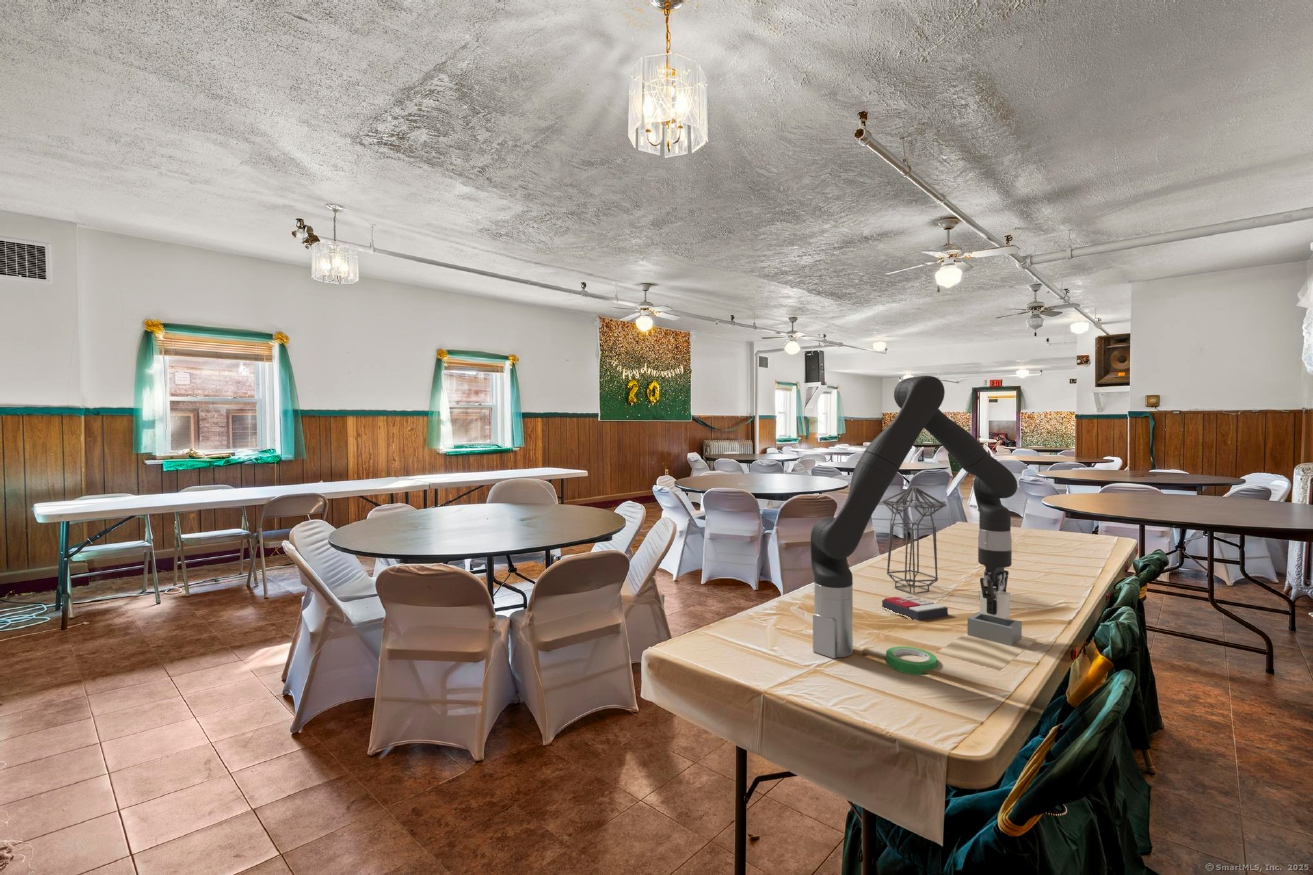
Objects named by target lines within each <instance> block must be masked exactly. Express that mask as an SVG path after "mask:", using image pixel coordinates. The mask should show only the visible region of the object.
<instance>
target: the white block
mask: <svg viewBox="0 0 1313 875" xmlns="http://www.w3.org/2000/svg"><path fill="white" fill-rule="evenodd" d="M978 594H979V612H980V613H982V614H986V615H991V616H995V617H1000V618H1004V619H1006V618H1009V617H1010V616H1011V614H1010V612H1011V608H1010V607H1011V604H1010V603H1011V600H1010V599H1011V595H1010V594H1011V593H1010V592H1007V591H1006V592H1003V591H999V592H998V594H997V614H996V615H992V614H988V613H987V599H986V598H983V595H982V589H980V590H979V593H978ZM989 594H990V592H989Z"/></svg>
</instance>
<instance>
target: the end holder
mask: <svg viewBox="0 0 1313 875" xmlns="http://www.w3.org/2000/svg"><path fill="white" fill-rule="evenodd" d="M1022 623H1023V622H1022V621H1021V620H1016V619H1012V618H1009V617H1007V618H1006V619H1004V618H1000V617H995V616H991V615H986V614H982V613H980V611H977V612H976V613H974V614H972V615H971V616H968V617H967V627H966V628H967V632H966V633H967V635H969V636H973V637H977V638H981V639H985V640H989V641H992V642H996V643H1000V644H1004V645H1008V646H1013V645H1014V644H1015V643H1017V642H1018V641H1019V640H1021V639H1022V636H1023V635H1022V634H1023V632H1022V629H1023V627H1022V626H1023V625H1022Z"/></svg>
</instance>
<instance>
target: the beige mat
mask: <svg viewBox="0 0 1313 875" xmlns="http://www.w3.org/2000/svg"><path fill="white" fill-rule="evenodd" d="M1036 641H1037V638H1034V637H1033V638H1032V637H1028V636H1024V635H1022V639H1021V640H1019V641H1018V642H1017V643H1015V644H1014V645H1013V646H1008V645H1004V644H1000V643H996V642H992V641H989V640H985V639H981V638H977V637H973V636H969V635H967V632H965V633H964V634H962V635H961V636H960V637H958V638H956V639H955V640H953V641H952V642H950V643H949V644H947V645H945V646H944V647H942V648H941V649H939V650H938V651H936V652H935V653H936V654H940V655H944V656H947V657H950V658H954V659H958V660H961V661H965V662H968V663H972V664H976V665H978V666H981V667H985V668H988V669H992V670H996V671H998V672H999V671H1001V670H1002V669H1003V668H1004V667H1005V666H1007V665H1008V664H1009V663H1011V662H1012V661H1013V660H1014V659H1015V658H1016V657H1018V656H1019V655H1020V654H1021V653H1022V652H1023V651H1025V650H1026V649H1027V648H1028V647H1030V646H1031V645H1033V643H1034V642H1036Z"/></svg>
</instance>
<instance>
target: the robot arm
mask: <svg viewBox="0 0 1313 875" xmlns="http://www.w3.org/2000/svg"><path fill="white" fill-rule="evenodd" d="M945 394H946V393H945V386H944V383H943V382H942V380H941V379H939V378H938V377H936V376H932V375H921V376H913V377H912V376H911V377H907V378H904V379H903V380H900V381H899V382H898V383H897V385H896V386H895V388H894V390H893V399H894V401H895V403H896V405H897V406H898V407H899V409H900V410H899V412H898V413H897V415H896V417H895V418H894V419H893V420H892V421H891V423H890V424H889V425H888V426H887V427H886V428H885V429H883V430H882V431H881V432H880V433H879V434H878V435H877V436H876V437H875V438H874V439H872V441H871V442H870V443H869V445H867V447H866V448H865V450H864V452H863V453H862V454H861V457H860V458H859V460H858V462H857V463H856V465H855V467H854V469H853V472H852V475H851V480H850V481H851V482H850V484H849V485H850V486H849V491H848V495H847V498H846V500H845V503H844V504H843V506H842V508H841V509H840V510H839V512H838V513H837V515H836V517H835V518H833V517H823V518H821V519H819V520H817V521H816V522H815V523H814V525H813V526H812V529H811V532H810V563H811V570H812V573H813V577H814V578H813V579H814V580H813V581H814V582H813V584H814V595H813V597H814V598H813V600H814V601H813V602H814V603H813V605H814V607H813V609H814V613H813V614H812V652H813V653H817V654H820V655H823V656H826V657H829V658H831V659H837V658H846V657H849V656H851V655H853V653H854V652H853V651H854V650H853V647H854V646H853V644H854V640H853V639H854V637H853V635H854V634H853V633H854V632H853V630H854V628H853V627H854V624H853V622H854V621H853V617H854V616H853V615H854V614H853V605H854V604H853V602H854V600H853V588H854V587H853V584H854V582H853V578H854V577H853V573H852V571H851V570H850V567H849V565H848V561H847V558H849V557H850V556H851V555H852V554H853V553H854V552H855V551H856V549H857V547H858V546H859V544H860V541H861V539H862V536H863V534H864V532H865V530H866V529H867V528H866V527H868V524H869V522H870V519H871V517H872V515H873V513H874V511H875V510H876V508H877V507H878V505H879V503H880V502H881V501H882V498H883V497H884V495H885V494H886V491H887V490H888V488H889V487H890V486H891V483H892V482H893V481H894V479H895V477H896V475H897V473H898V472H899V471H900V469H901V466H902V464H903V463H904V461H905V460H906V458H907V456H908V454H909V453H910V451H911V450H912V448H913V446H914V444H915V443H916V441H917V439H918V438H919V436H920V434H921V433H922V432H923V431H924V429H925V431H926V432H928V433H929V434H930V435H931V436H932V437H933V438H934V439H935V440H936V441H938V443H939V444H940V445H941V446H942V447H943V448H944V449H945V450H946V451H947V452H948V454H950V456H951V457H952V458H953V459H954V461H956V462H957V464H958V465H959V466H960V467H961V468H962V470H964V471H965V472H966V473H968V474H971V475H974V479H973V485H972V486H973V494H974V497H975V502H976V506H977V508H978V512H979V516H978V518H979V520H978V521H979V530H978V537H977V540H978V541H977V551H978V552H977V555H978V557H977V562H978V563H979V564H980V565H982V566H984V567H985V570H984V571H983V577H980V578H979V583H980V588H981V589H980V590H982V595H983V598H986V599H987V613H988V614H992V615H996V614H997V594H998V592H999V591H1003V592H1007V586H1008V579H1009V573H1010V572H1009V570H1005V569H1007V568H1010V567H1011V566H1012V558H1013V557H1012V554H1013V553H1012V551H1013V548H1012V547H1013V546H1012V545H1013V543H1012V541H1013V540H1012V533H1011V527H1012V526H1011V517H1012V516H1011V510H1009V509H1008V508H1007V507H1005V506H1004V505H1003V504H1002V501H1001V499H1009V498H1011V497H1013V496H1014V495H1016V492H1017V490H1018V481H1017V478H1016V477H1015V475H1014V474H1013V473H1012V471H1010V470H1009V469H1008V468H1007V466H1005V465H1003V464H1002V463H1001V462H1000V461H998V460H997V459H996V458H994V457H993V456H992V455H990V454H989V453H988V452H987V450H986V449H985V447H984V446H982V444H981V443H980V442H979V441H978V440H977V439H976V438H975V437H974V435H972V434H971V433H970V432H969V431H968V430H966V429H965V428H963V427H962V426H960V424H958V423H957V422H955V421H953V420H952V419H951V418H949V417H948V416H947V415H946V414H944V412H943V411H941V409H940V407H941V406H942V404H943V401H944V399H945ZM989 592H990V594H989Z"/></svg>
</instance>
